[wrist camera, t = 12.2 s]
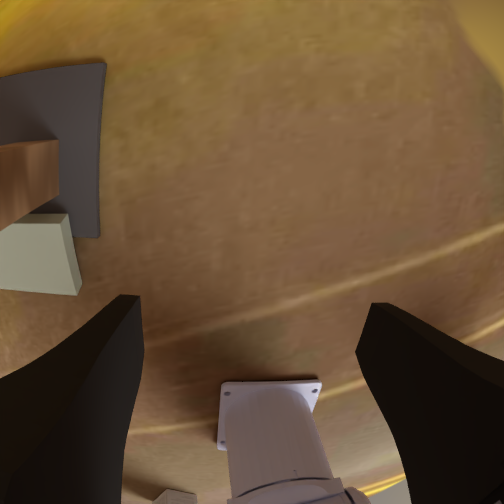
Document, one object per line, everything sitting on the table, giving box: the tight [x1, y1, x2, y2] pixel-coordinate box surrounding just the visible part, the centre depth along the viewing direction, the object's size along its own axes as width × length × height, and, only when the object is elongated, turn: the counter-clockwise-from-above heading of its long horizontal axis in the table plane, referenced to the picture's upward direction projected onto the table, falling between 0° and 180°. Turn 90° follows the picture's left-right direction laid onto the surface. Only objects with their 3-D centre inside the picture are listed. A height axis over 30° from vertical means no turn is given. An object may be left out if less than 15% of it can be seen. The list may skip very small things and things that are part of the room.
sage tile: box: [0, 214, 82, 296], centre depth 16 cm, size 1×7×5 cm
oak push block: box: [0, 140, 59, 231], centre depth 12 cm, size 3×3×7 cm
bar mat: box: [0, 63, 107, 238], centre depth 15 cm, size 10×8×1 cm
